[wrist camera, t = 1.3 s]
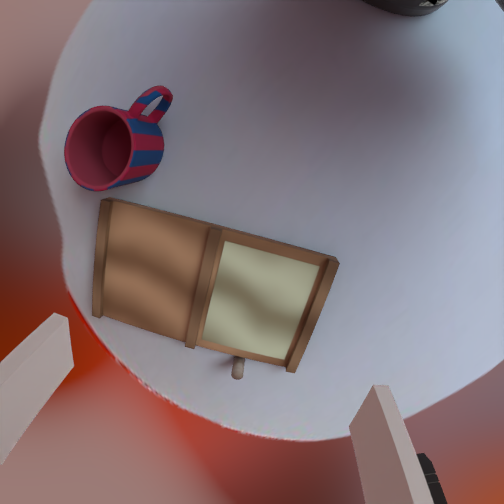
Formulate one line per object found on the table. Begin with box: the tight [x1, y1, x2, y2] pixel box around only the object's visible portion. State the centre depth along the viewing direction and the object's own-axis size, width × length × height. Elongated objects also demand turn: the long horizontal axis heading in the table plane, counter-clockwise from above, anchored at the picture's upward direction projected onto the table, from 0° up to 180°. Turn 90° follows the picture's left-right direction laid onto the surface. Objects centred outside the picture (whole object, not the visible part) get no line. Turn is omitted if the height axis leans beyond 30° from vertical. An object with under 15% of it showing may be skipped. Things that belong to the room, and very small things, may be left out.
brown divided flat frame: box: [92, 197, 340, 380], centre depth 30 cm, size 15×23×3 cm, turn 75°
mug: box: [64, 86, 173, 191], centre depth 24 cm, size 7×10×7 cm
